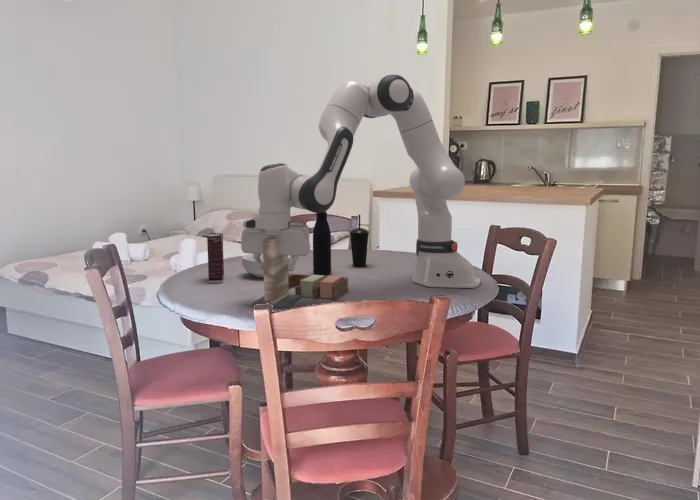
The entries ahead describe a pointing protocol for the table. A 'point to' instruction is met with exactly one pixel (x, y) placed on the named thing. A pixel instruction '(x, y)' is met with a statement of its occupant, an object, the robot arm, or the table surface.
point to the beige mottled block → (274, 272)
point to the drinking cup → (359, 246)
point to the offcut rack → (336, 289)
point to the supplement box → (215, 257)
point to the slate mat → (282, 303)
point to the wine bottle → (321, 246)
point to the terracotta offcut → (328, 286)
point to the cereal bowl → (254, 265)
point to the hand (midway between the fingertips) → (276, 269)
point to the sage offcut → (310, 285)
